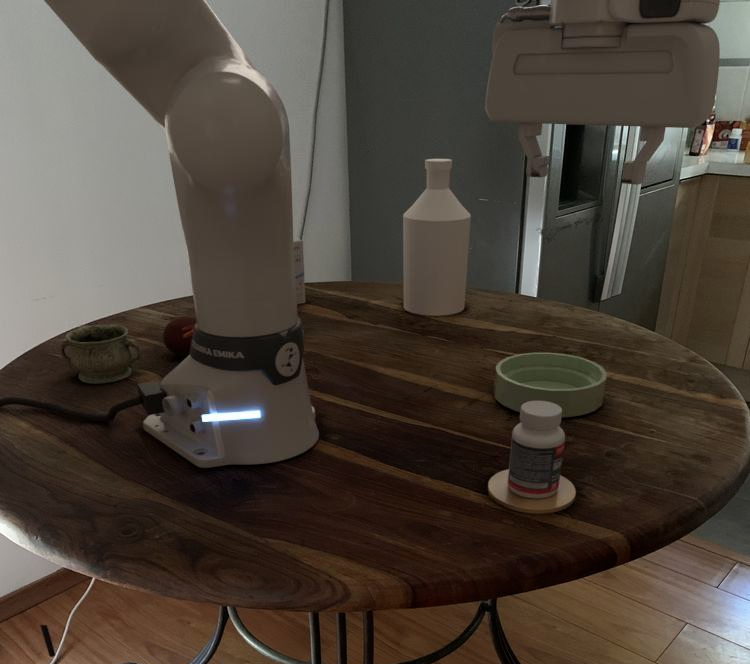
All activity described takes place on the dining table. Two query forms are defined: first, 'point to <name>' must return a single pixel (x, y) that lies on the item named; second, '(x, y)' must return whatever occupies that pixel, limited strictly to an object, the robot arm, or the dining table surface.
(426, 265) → the bottle
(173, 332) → the red tomato
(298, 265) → the ink box
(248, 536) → the dining table surface
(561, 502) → the coaster
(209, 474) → the dining table surface
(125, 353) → the vessel
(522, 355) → the bowl
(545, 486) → the pill bottle
